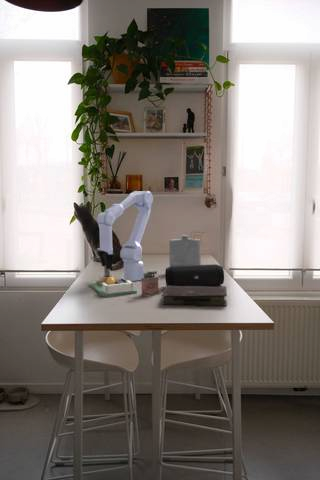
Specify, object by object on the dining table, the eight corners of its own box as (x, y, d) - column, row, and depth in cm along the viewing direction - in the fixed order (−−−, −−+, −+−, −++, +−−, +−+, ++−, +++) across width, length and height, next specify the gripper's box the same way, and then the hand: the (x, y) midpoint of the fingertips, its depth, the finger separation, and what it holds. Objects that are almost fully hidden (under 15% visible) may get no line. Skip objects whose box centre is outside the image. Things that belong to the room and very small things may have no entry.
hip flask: (169, 274, 240) (169, 235, 237) (170, 272, 244) (169, 234, 241) (200, 274, 239) (200, 235, 236) (200, 272, 243) (200, 234, 240)
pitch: (120, 282, 223) (120, 278, 222) (136, 293, 202) (136, 288, 201) (90, 285, 217) (89, 281, 217) (103, 296, 196) (103, 292, 196)
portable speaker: (167, 290, 205) (167, 268, 204) (165, 285, 215) (164, 264, 214) (224, 288, 208) (224, 266, 207) (219, 283, 218) (219, 262, 216)
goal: (128, 287, 207) (128, 280, 206) (133, 290, 201) (132, 282, 201) (102, 290, 202) (102, 282, 202) (106, 293, 197) (106, 285, 196)
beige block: (112, 280, 220) (111, 264, 219) (115, 282, 216) (114, 266, 215) (99, 282, 218) (99, 265, 217) (102, 284, 214) (102, 267, 213)
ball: (113, 284, 214) (113, 275, 214) (116, 286, 210) (116, 277, 210) (105, 285, 213) (105, 276, 212) (107, 287, 209) (107, 278, 208)
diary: (167, 295, 199) (167, 284, 199) (226, 296, 196) (226, 285, 195) (161, 307, 181) (161, 294, 180) (226, 308, 178) (226, 295, 177)
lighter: (143, 296, 196) (142, 273, 194) (140, 294, 199) (139, 271, 197) (160, 293, 199) (160, 271, 198) (156, 292, 202) (156, 269, 201)
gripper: (93, 237, 219) (94, 265, 221) (101, 240, 206) (102, 271, 208) (108, 236, 222) (108, 264, 224) (116, 239, 209) (117, 269, 210)
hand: (106, 267), depth 216 cm, fingers open, 7 cm apart
